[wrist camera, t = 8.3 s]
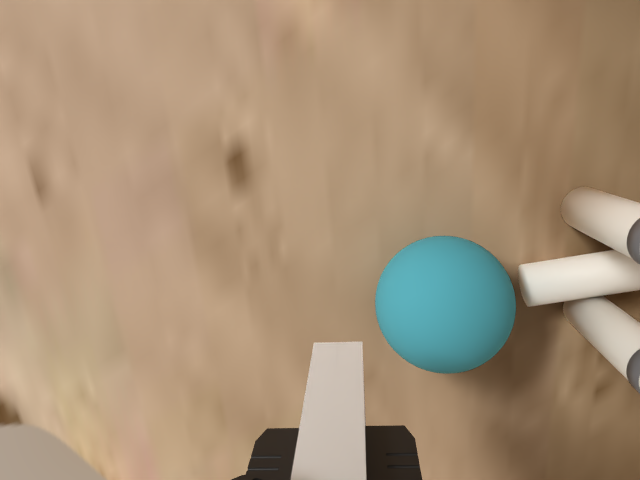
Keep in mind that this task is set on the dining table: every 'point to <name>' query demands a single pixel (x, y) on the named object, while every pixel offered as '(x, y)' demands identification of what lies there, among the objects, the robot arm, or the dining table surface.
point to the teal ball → (445, 304)
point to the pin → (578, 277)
